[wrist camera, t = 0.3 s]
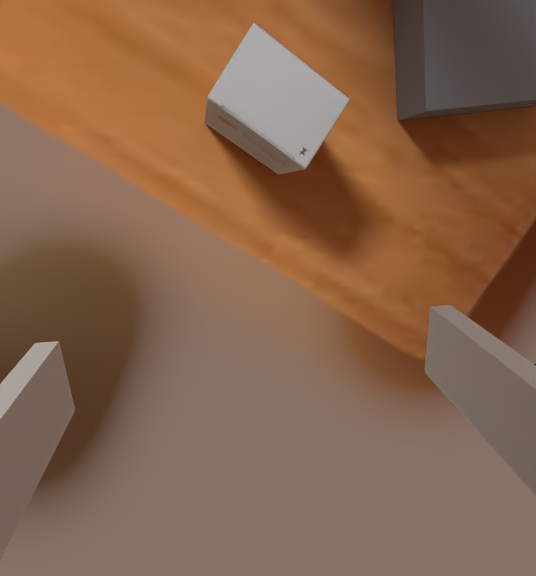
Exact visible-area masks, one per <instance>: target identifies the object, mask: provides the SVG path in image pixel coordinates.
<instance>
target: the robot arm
mask: <svg viewBox="0 0 536 576" xmlns="http://www.w3.org/2000/svg"><path fill="white" fill-rule="evenodd" d="M424 372H425V373H426V374H427V375H428V377H429V378H430V379H431V380H432V381H433V382H434V383H435V384H436V386H437V387H438V388H439V389H440V390H441V391H442V392H443V393H444V394H445V395H446V397H447V398H448V399H449V400H450V401H451V402H452V403H453V404H454V406H455V407H456V408H457V409H458V410H459V411H460V412H461V413H462V414H463V416H464V417H465V418H466V419H467V420H468V421H469V422H470V423H471V425H472V426H473V427H474V428H475V429H476V430H477V431H478V432H479V433H480V435H481V436H482V437H483V438H484V439H485V440H486V441H487V442H488V443H489V444H490V446H491V447H492V448H493V449H494V450H495V451H496V452H497V454H498V455H499V456H500V457H501V458H502V459H503V460H504V461H505V462H506V464H507V465H508V466H509V467H510V468H511V469H512V470H513V471H514V472H515V473H516V475H517V476H518V477H519V478H520V479H521V480H522V481H523V482H524V484H525V485H526V486H527V487H528V488H529V489H530V490H531V491H532V493H533V494H534V495H535V496H536V364H533V363H531V362H530V361H528V360H527V359H526V358H524V357H523V356H521V355H520V354H519V353H517V352H516V351H514V350H513V349H512V348H510V347H509V346H507V345H506V344H505V343H503V342H502V341H500V340H499V339H498V338H496V337H495V336H493V335H492V334H491V333H489V332H488V331H486V330H485V329H483V328H482V327H481V326H479V325H478V324H476V323H475V322H474V321H472V320H471V319H469V318H468V317H467V316H465V315H464V314H462V313H461V312H460V311H458V310H457V309H455V308H454V307H453V306H451V305H441V306H430V314H429V326H428V337H427V348H426V360H425V371H424ZM74 411H75V408H74V404H73V399H72V395H71V391H70V387H69V382H68V378H67V374H66V370H65V366H64V361H63V357H62V353H61V349H60V344H59V341H56V342H46V343H35V344H34V345H33V346H32V348H31V349H30V350H29V351H28V352H27V353H26V355H25V356H24V357H23V358H22V359H21V360H20V362H19V363H18V364H17V365H16V366H15V368H14V369H13V370H12V371H11V372H10V373H9V375H8V376H7V377H6V378H5V379H4V380H3V382H2V383H1V384H0V559H1V557H2V555H3V553H4V551H5V549H6V547H7V545H8V543H9V541H10V539H11V537H12V535H13V533H14V531H15V529H16V527H17V525H18V523H19V521H20V519H21V517H22V515H23V513H24V511H25V509H26V507H27V505H28V503H29V501H30V499H31V497H32V495H33V493H34V491H35V489H36V487H37V485H38V483H39V481H40V479H41V477H42V475H43V473H44V471H45V469H46V467H47V465H48V463H49V461H50V459H51V457H52V455H53V453H54V451H55V449H56V447H57V445H58V443H59V441H60V439H61V437H62V435H63V433H64V431H65V429H66V427H67V425H68V423H69V421H70V419H71V417H72V415H73V413H74Z"/></svg>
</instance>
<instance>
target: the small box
mask: <svg viewBox="0 0 536 576" xmlns="http://www.w3.org/2000/svg"><path fill="white" fill-rule="evenodd" d="M349 101H350V98H349V97H347V96H346V95H345V94H344V93H342V92H341V91H340V90H339V89H337V88H336V87H335V86H334V85H332V84H331V83H330V82H329V81H327V80H326V79H325V78H324V77H322V76H321V75H320V74H319V73H317V72H316V71H315V70H314V69H312V68H311V67H310V66H308V65H307V64H306V63H305V62H303V61H302V60H301V59H300V58H298V57H297V56H296V55H295V54H293V53H292V52H291V51H290V50H288V49H287V48H286V47H285V46H283V45H282V44H281V43H280V42H278V41H277V40H276V39H275V38H273V37H272V36H271V35H270V34H268V33H267V32H266V31H265V30H263V29H262V28H261V27H260V26H258V25H257V24H256V23H253V24H252V26H251V27H250V29H249V31H248V32H247V34H246V35H245V37H244V39H243V40H242V42H241V43H240V45H239V47H238V48H237V50H236V51H235V53H234V55H233V56H232V58H231V59H230V61H229V63H228V64H227V66H226V67H225V69H224V71H223V72H222V74H221V76H220V77H219V79H218V80H217V82H216V84H215V85H214V87H213V89H212V90H211V92H210V94H209V95H208V97H207V105H206V115H205V124H206V125H208V126H210V127H211V128H212V129H214V130H215V131H217V132H218V133H220V134H221V135H222V136H224V137H225V138H227V139H228V140H229V141H231V142H232V143H234V144H235V145H237V146H238V147H240V148H241V149H242V150H244V151H245V152H247V153H248V154H249V155H251V156H252V157H254V158H255V159H257V160H258V161H260V162H261V163H262V164H264V165H265V166H267V167H268V168H269V169H271V170H272V171H274V172H275V173H276V174H278V175H280V174H285V173H290V172H295V171H300V170H305V169H306V168H307V167H308V165H309V164H310V162H311V160H312V159H313V157H314V156H315V154H316V153H317V151H318V149H319V148H320V146H321V145H322V143H323V142H324V140H325V138H326V137H327V135H328V134H329V132H330V131H331V129H332V127H333V126H334V124H335V123H336V121H337V120H338V118H339V116H340V115H341V113H342V112H343V110H344V109H345V107H346V106H347V104H348V102H349Z"/></svg>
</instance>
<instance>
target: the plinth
mask: <svg viewBox="0 0 536 576" xmlns="http://www.w3.org/2000/svg"><path fill="white" fill-rule="evenodd" d="M393 18H394V42H395V67H396V91H397V115H398V121H399V120H408V119H418V118H427V117H437V116H447V115H456V114H466V113H475V112H485V111H494V110H504V109H513V108H523V107H532V106H536V0H393Z"/></svg>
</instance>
